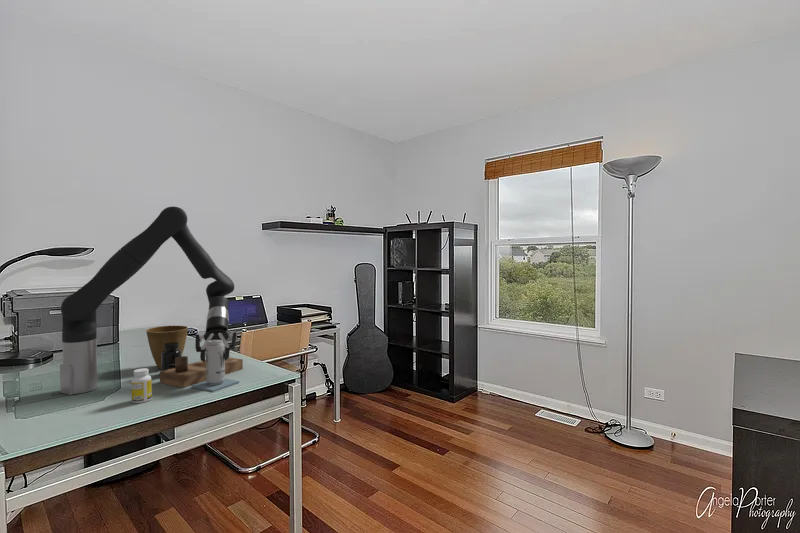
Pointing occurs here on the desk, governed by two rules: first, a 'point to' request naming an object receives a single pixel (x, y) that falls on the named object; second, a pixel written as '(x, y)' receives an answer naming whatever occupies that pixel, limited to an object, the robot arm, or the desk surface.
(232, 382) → the rubber mat
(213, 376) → the energy drink can
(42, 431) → the desk surface
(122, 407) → the desk surface
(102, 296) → the robot arm
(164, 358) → the supplement bottle
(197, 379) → the body
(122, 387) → the desk surface
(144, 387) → the supplement bottle
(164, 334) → the plant pot
